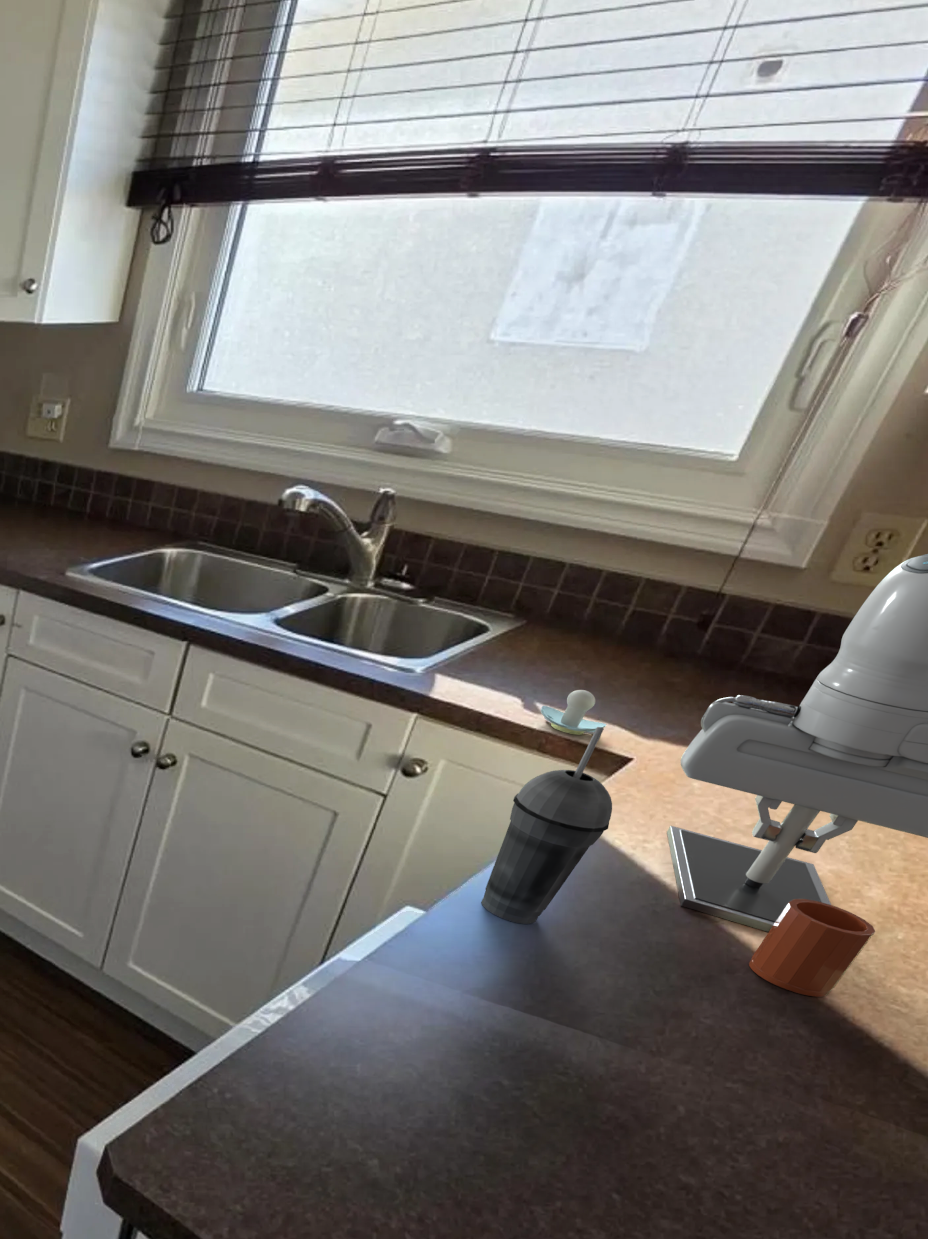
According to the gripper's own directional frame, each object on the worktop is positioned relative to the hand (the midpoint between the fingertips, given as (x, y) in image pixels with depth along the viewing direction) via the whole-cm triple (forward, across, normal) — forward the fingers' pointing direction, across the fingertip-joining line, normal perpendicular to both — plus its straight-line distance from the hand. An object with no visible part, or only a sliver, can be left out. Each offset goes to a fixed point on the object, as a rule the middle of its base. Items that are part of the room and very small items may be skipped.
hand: (783, 843), depth 104 cm
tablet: (+6, 0, +2) cm, 7 cm away
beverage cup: (+7, -20, -22) cm, 30 cm away
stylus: (+6, 0, +1) cm, 6 cm away
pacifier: (+7, -15, +42) cm, 45 cm away
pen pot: (+7, +1, -17) cm, 18 cm away
